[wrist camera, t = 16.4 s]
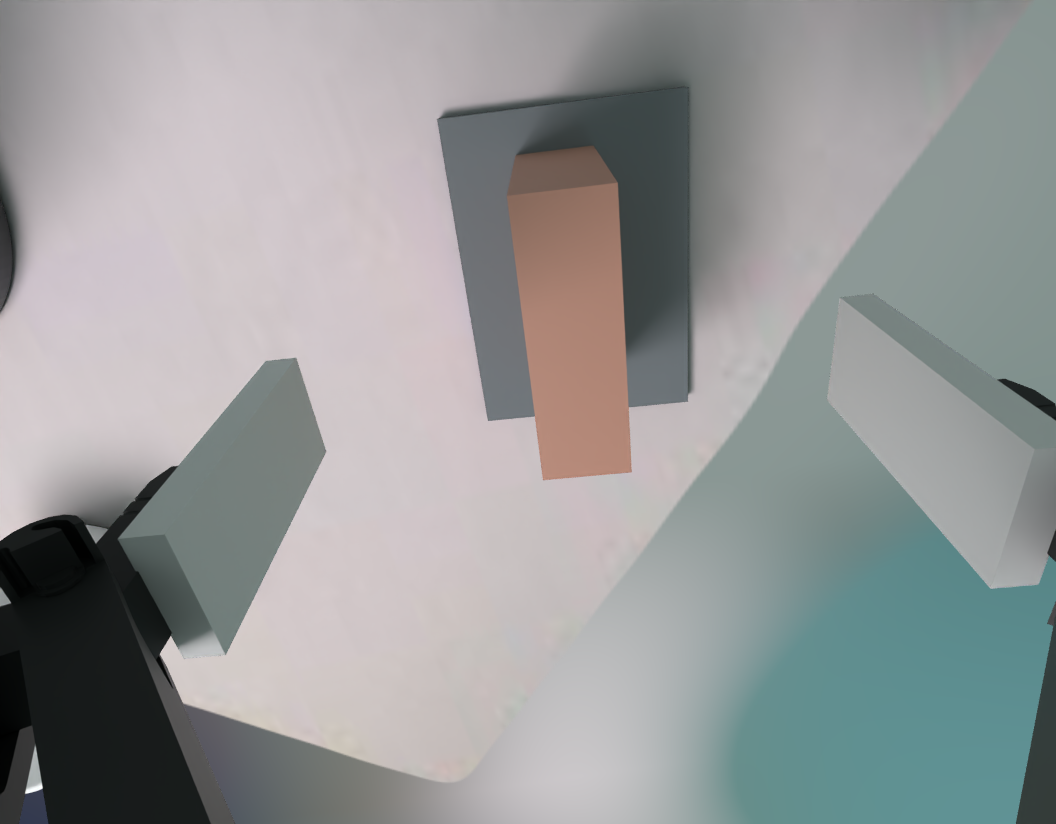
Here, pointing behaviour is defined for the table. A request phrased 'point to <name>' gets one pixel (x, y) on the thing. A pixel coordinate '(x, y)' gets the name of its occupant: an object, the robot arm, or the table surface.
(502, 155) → the mat
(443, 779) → the table surface
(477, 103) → the table surface
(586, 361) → the block
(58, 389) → the table surface
